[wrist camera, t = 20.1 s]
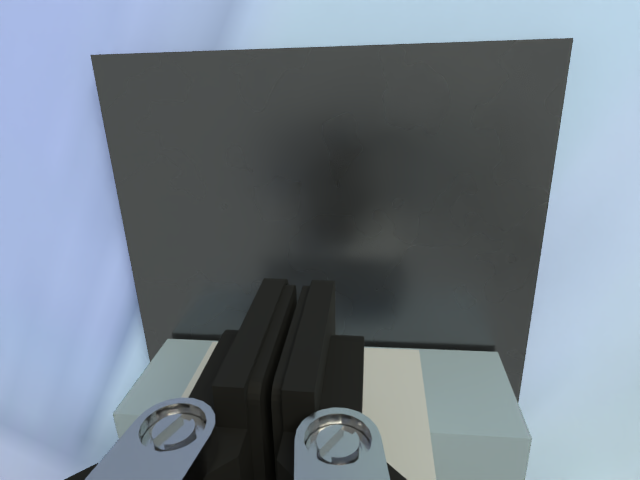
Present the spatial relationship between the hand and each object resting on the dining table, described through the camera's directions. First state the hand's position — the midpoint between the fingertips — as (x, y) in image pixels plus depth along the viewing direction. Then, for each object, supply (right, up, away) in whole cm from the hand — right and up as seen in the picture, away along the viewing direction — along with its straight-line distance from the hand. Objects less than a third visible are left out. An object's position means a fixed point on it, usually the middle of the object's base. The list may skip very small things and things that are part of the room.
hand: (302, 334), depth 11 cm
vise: (+1, -1, +7) cm, 7 cm away
